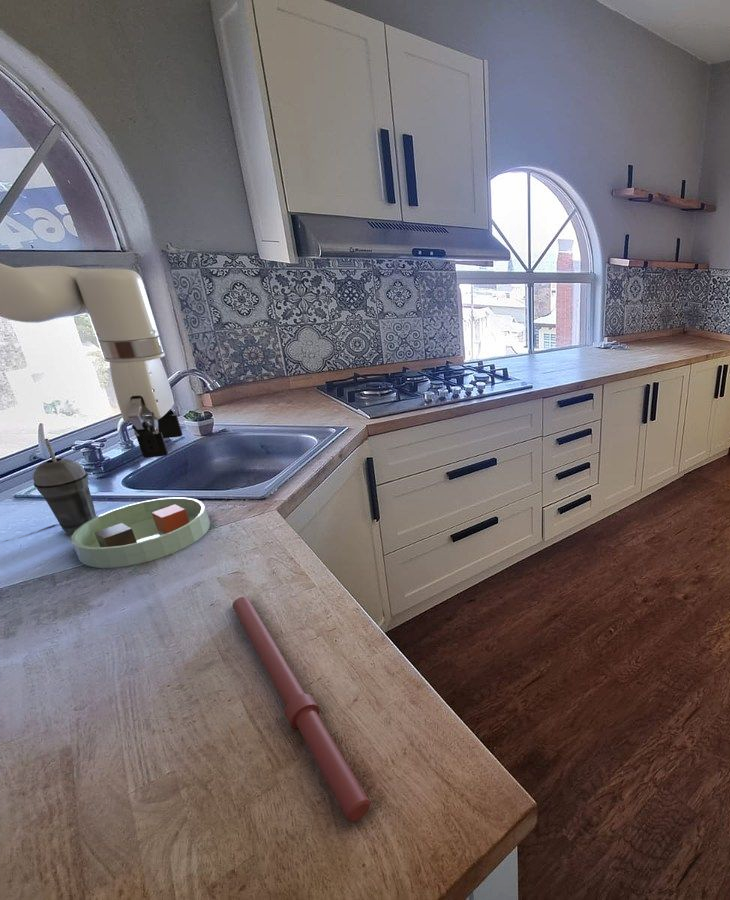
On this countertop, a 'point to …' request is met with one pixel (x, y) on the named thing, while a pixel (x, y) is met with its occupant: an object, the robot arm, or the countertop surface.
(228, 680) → the countertop surface
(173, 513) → the terracotta block
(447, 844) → the countertop surface
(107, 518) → the bowl
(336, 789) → the rolling pin
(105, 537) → the walnut block
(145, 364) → the robot arm
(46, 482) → the beverage cup
